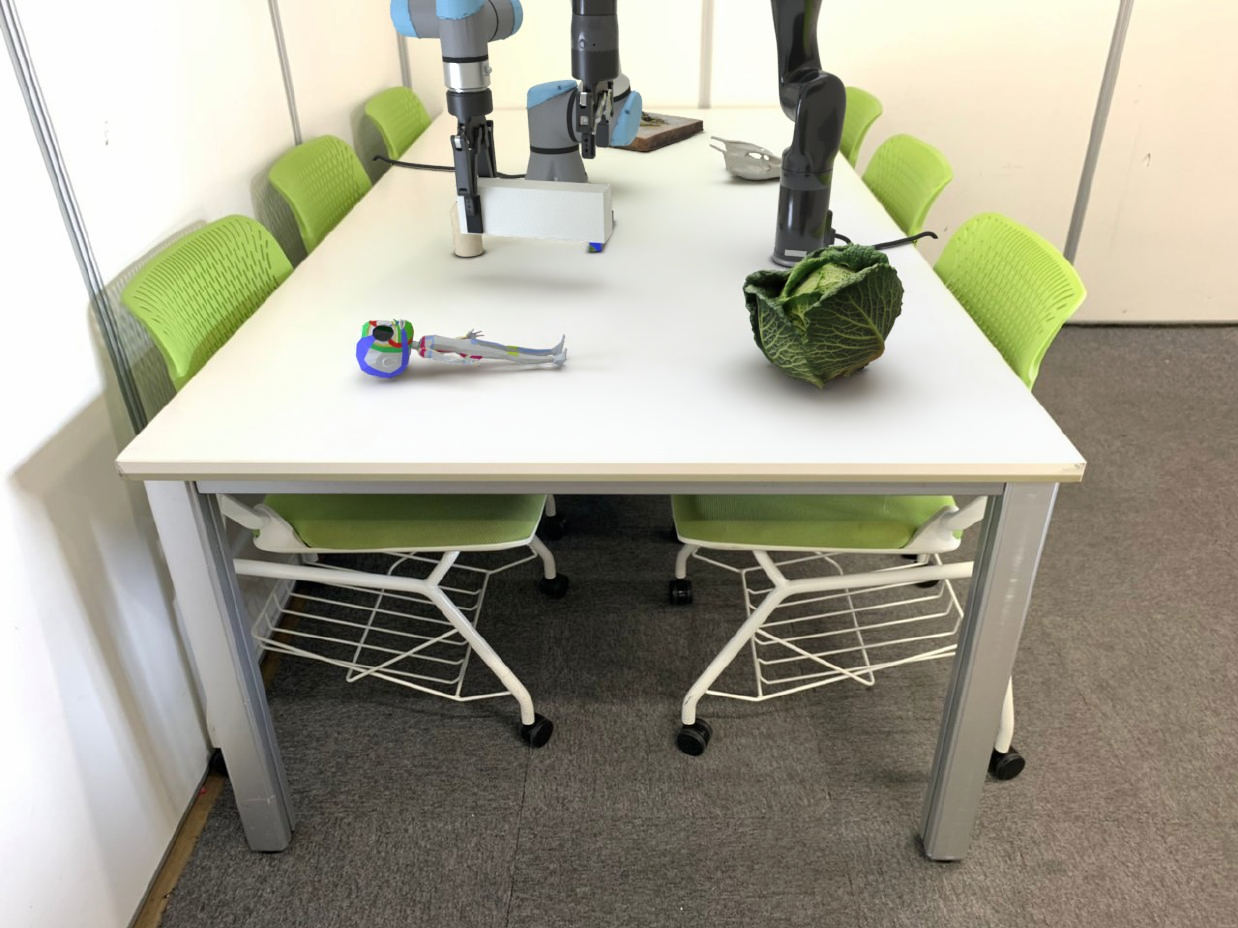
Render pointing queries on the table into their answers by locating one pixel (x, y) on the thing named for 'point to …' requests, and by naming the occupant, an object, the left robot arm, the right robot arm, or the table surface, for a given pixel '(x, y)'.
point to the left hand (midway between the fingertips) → (482, 227)
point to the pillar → (598, 245)
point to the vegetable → (825, 311)
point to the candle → (464, 237)
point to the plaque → (662, 131)
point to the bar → (543, 209)
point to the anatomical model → (749, 160)
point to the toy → (435, 349)
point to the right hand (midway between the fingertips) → (595, 152)
